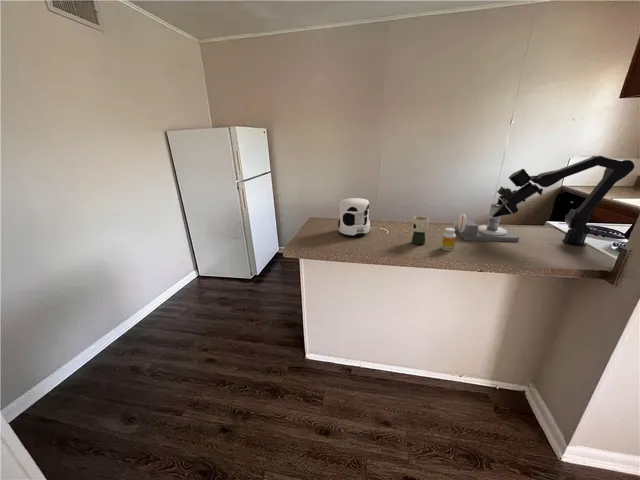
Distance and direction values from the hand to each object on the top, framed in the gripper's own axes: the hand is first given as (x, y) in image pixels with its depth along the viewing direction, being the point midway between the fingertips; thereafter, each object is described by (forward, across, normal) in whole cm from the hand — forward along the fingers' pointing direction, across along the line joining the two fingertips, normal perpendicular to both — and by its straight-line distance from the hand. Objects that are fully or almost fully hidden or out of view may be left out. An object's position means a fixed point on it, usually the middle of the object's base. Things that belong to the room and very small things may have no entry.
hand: (491, 214), depth 138 cm
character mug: (+31, +24, -15) cm, 42 cm away
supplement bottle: (+22, +27, -6) cm, 35 cm away
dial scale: (+9, +1, +7) cm, 11 cm away
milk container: (+55, +21, -39) cm, 71 cm away
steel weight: (+5, 0, +7) cm, 8 cm away
